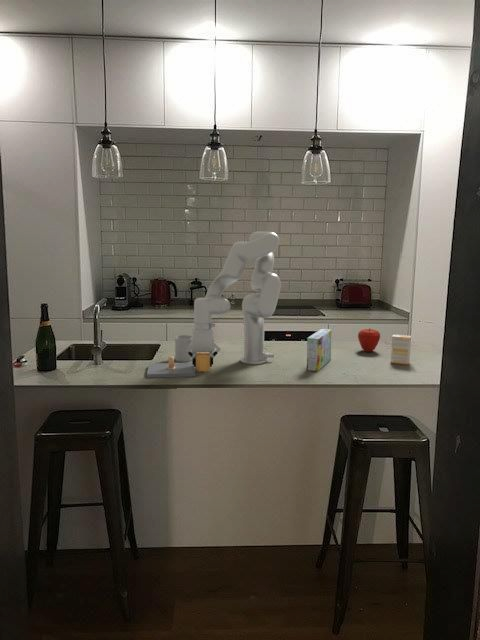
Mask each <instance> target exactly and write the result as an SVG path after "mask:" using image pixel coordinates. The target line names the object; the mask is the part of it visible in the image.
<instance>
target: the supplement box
mask: <svg viewBox="0 0 480 640" xmlns="http://www.w3.org/2000/svg"><path fill="white" fill-rule="evenodd" d="M411 342H412V335H405V334H404V335H403V334H397V333H396V334H392V336H391V348H390V349H391V350H390V364H398V365H406V366H409V365H410V363H411V361H410V360H411V358H410V357H411V344H412V343H411Z"/></svg>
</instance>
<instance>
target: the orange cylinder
mask: <svg viewBox="0 0 480 640" xmlns="http://www.w3.org/2000/svg"><path fill="white" fill-rule="evenodd" d="M195 358H196V367H195V371H196V370H197V372H200V371H204V372H208V370H209V371H211V367H210V353H209V352H197V353H196V355H195Z"/></svg>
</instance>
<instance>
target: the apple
mask: <svg viewBox="0 0 480 640" xmlns="http://www.w3.org/2000/svg"><path fill="white" fill-rule="evenodd" d="M357 338H358V339H357V340H358V342H359V344H360V347H361V349H362V350H363V351H364V352H368V353H370V352H371V353H372V352H373V351H374V350H375V349H376V348H377V346H378V344H379V342H380V339H381V333H380V331H378V330H376V329H372V328H365V329H360V331H359V332H358V335H357Z"/></svg>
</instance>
